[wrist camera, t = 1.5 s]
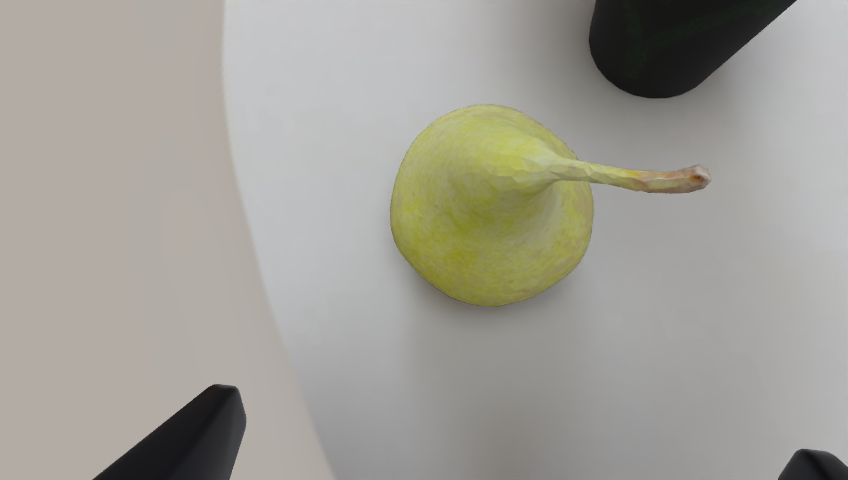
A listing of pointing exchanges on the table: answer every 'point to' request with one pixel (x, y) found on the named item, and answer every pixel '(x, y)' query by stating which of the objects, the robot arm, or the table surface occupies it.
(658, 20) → the cup
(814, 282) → the table surface
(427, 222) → the fruit
